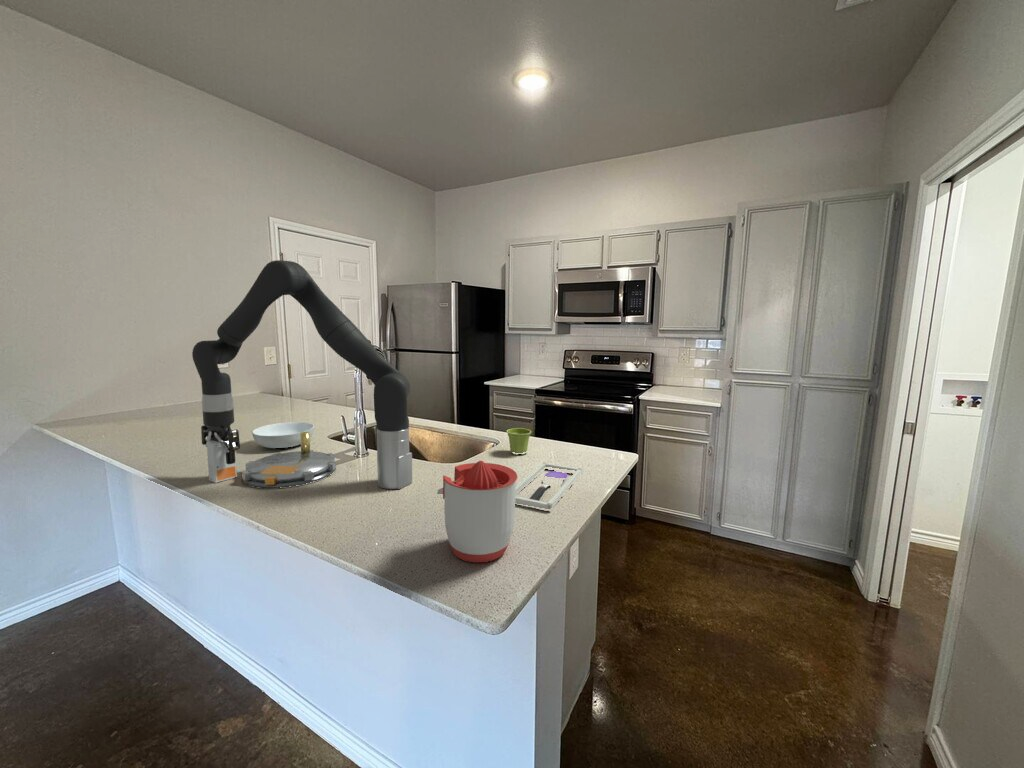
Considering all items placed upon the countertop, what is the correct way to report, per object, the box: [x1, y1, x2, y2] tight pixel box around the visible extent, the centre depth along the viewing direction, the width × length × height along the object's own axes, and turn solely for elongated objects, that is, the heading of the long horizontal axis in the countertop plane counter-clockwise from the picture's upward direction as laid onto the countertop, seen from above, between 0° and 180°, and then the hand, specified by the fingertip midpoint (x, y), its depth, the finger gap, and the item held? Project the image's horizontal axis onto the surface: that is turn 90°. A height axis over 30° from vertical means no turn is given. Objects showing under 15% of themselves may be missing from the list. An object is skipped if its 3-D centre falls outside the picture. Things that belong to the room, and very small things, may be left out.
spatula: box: [529, 471, 568, 501], centre depth 124 cm, size 24×7×2 cm, turn 155°
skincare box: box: [206, 441, 238, 484], centre depth 126 cm, size 6×4×12 cm
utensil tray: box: [515, 462, 583, 509], centre depth 127 cm, size 13×31×2 cm, turn 156°
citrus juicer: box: [436, 460, 518, 563], centre depth 90 cm, size 16×17×20 cm
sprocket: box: [241, 432, 337, 485], centre depth 132 cm, size 27×27×9 cm
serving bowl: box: [251, 421, 315, 449], centre depth 161 cm, size 21×21×7 cm
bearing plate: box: [242, 460, 337, 489], centre depth 133 cm, size 26×26×1 cm
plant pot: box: [506, 427, 532, 453], centre depth 159 cm, size 9×9×9 cm
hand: (221, 461), depth 126 cm, fingers open, 8 cm apart
